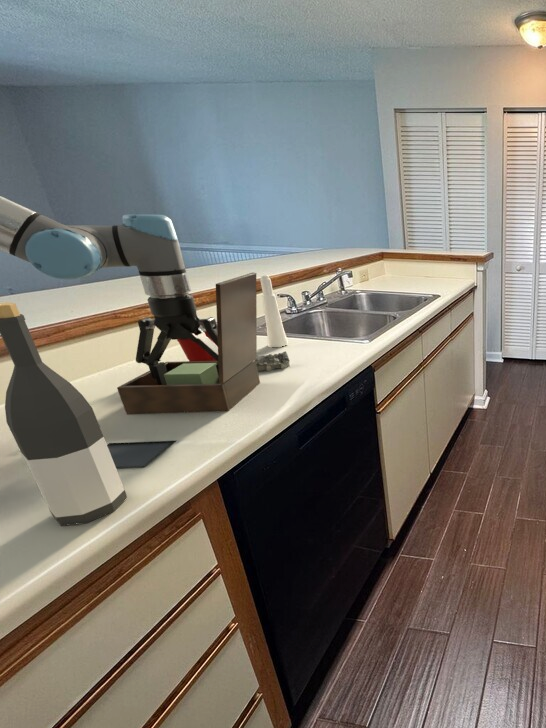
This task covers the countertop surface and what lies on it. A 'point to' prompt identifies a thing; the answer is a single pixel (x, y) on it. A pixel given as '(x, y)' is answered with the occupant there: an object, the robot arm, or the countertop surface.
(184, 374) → the cube
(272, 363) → the grey rock
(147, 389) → the chest
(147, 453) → the mat
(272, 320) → the white tapered tower
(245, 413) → the countertop surface
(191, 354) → the plastic cup
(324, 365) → the countertop surface
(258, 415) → the countertop surface
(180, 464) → the countertop surface
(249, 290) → the lid
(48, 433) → the wine bottle
